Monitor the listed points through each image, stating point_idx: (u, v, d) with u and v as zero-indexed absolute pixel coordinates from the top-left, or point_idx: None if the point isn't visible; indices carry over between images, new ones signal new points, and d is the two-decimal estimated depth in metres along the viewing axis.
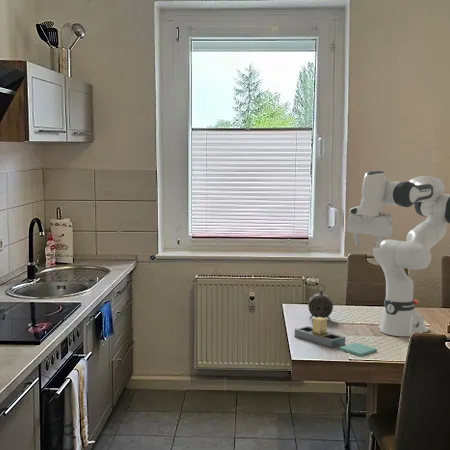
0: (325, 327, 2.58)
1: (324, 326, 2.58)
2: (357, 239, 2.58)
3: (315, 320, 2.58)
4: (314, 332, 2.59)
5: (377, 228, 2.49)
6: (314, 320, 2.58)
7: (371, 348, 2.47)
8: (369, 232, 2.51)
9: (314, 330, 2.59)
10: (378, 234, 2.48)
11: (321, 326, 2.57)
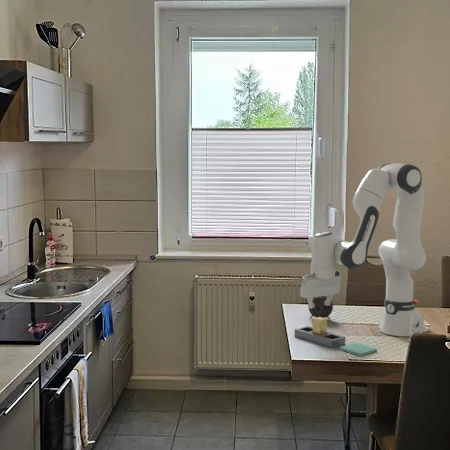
0: (325, 327, 2.58)
1: (324, 326, 2.58)
2: (327, 299, 2.61)
3: (315, 320, 2.58)
4: (314, 332, 2.59)
5: None
6: (314, 320, 2.58)
7: (371, 348, 2.47)
8: None
9: (314, 330, 2.59)
10: None
11: (321, 326, 2.57)
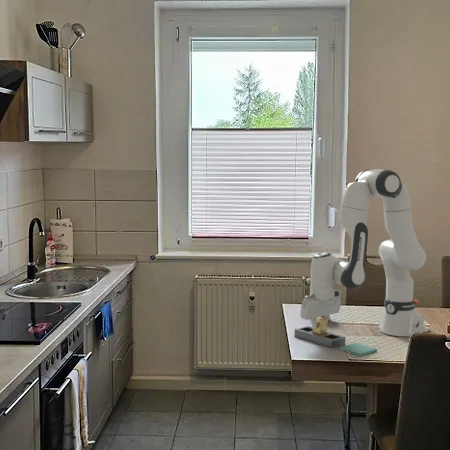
0: (325, 327, 2.58)
1: (324, 326, 2.58)
2: None
3: None
4: (314, 332, 2.59)
5: None
6: None
7: (371, 348, 2.47)
8: None
9: (314, 330, 2.59)
10: None
11: (321, 326, 2.57)
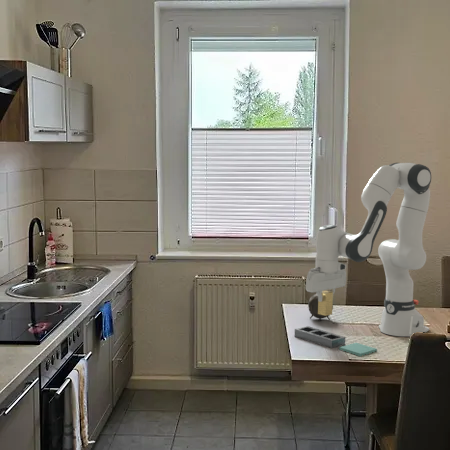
0: (331, 300, 2.56)
1: (330, 299, 2.55)
2: None
3: (321, 293, 2.55)
4: (320, 306, 2.56)
5: None
6: None
7: (371, 348, 2.47)
8: None
9: (319, 303, 2.56)
10: None
11: (327, 299, 2.54)
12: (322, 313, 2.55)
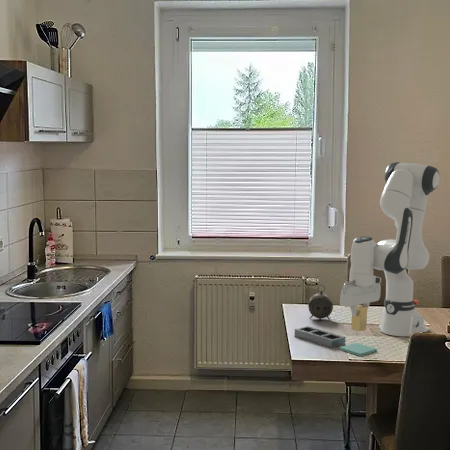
0: (365, 315, 2.45)
1: (364, 314, 2.44)
2: None
3: None
4: (353, 321, 2.45)
5: None
6: None
7: (371, 348, 2.47)
8: None
9: (353, 318, 2.45)
10: None
11: (361, 314, 2.43)
12: (356, 328, 2.44)
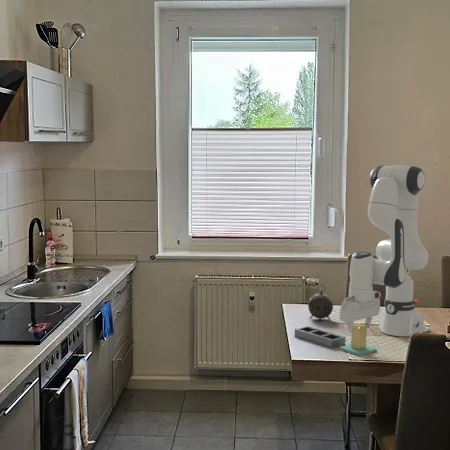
0: (365, 334, 2.46)
1: (364, 333, 2.45)
2: (367, 322, 2.50)
3: (354, 327, 2.46)
4: (353, 340, 2.46)
5: None
6: (353, 327, 2.46)
7: (371, 348, 2.47)
8: None
9: (353, 337, 2.46)
10: None
11: (361, 333, 2.44)
12: (356, 347, 2.46)
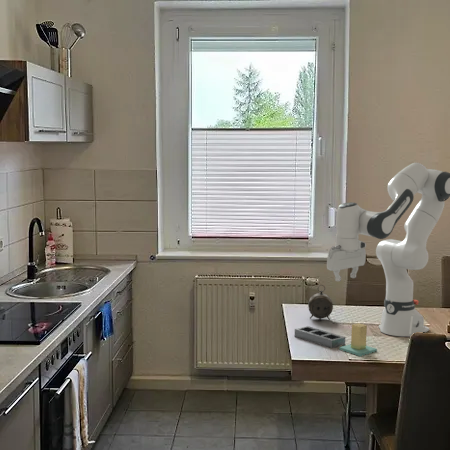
0: (365, 334, 2.46)
1: (364, 333, 2.45)
2: (353, 272, 2.55)
3: (354, 327, 2.46)
4: (353, 340, 2.46)
5: None
6: (353, 327, 2.46)
7: (371, 348, 2.47)
8: None
9: (353, 337, 2.46)
10: None
11: (361, 333, 2.44)
12: (356, 347, 2.46)
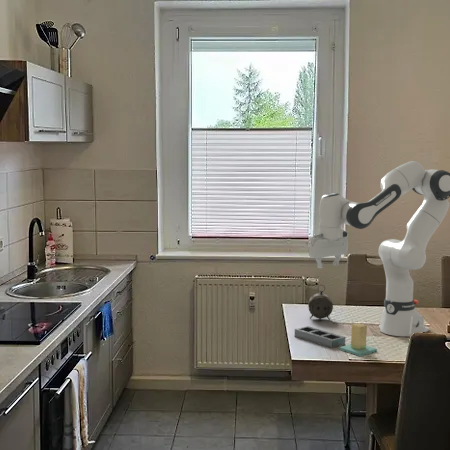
0: (365, 334, 2.46)
1: (364, 333, 2.45)
2: (336, 260, 2.65)
3: (354, 327, 2.46)
4: (353, 340, 2.46)
5: None
6: (353, 327, 2.46)
7: (371, 348, 2.47)
8: None
9: (353, 337, 2.46)
10: None
11: (361, 333, 2.44)
12: (356, 347, 2.46)
